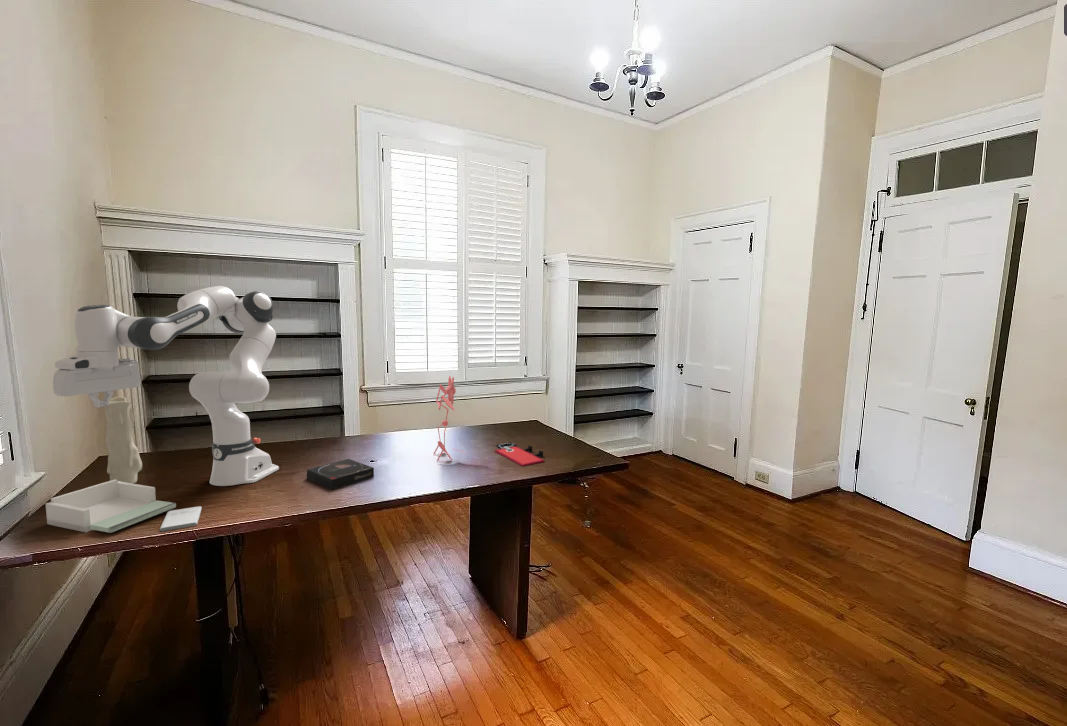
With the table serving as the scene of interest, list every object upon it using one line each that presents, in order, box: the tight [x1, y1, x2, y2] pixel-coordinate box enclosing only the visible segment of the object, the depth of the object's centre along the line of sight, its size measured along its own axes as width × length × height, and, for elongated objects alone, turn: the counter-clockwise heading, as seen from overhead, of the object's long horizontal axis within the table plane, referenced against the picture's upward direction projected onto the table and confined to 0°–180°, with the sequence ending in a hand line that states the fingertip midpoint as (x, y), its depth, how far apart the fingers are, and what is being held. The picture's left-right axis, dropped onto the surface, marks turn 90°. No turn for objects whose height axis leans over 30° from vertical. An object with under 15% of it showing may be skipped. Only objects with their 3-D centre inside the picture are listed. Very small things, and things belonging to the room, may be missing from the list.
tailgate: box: [90, 499, 177, 534], centre depth 130 cm, size 17×1×8 cm
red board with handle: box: [494, 441, 545, 467], centre depth 203 cm, size 30×3×15 cm
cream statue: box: [104, 396, 143, 484], centre depth 156 cm, size 9×8×30 cm
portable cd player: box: [306, 458, 375, 491], centre depth 168 cm, size 16×17×4 cm
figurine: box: [433, 375, 468, 466], centre depth 195 cm, size 15×26×35 cm, turn 22°
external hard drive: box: [159, 506, 202, 532], centre depth 132 cm, size 2×8×12 cm
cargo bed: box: [45, 480, 157, 533], centre depth 133 cm, size 18×15×7 cm
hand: (101, 406), depth 135 cm, fingers closed
